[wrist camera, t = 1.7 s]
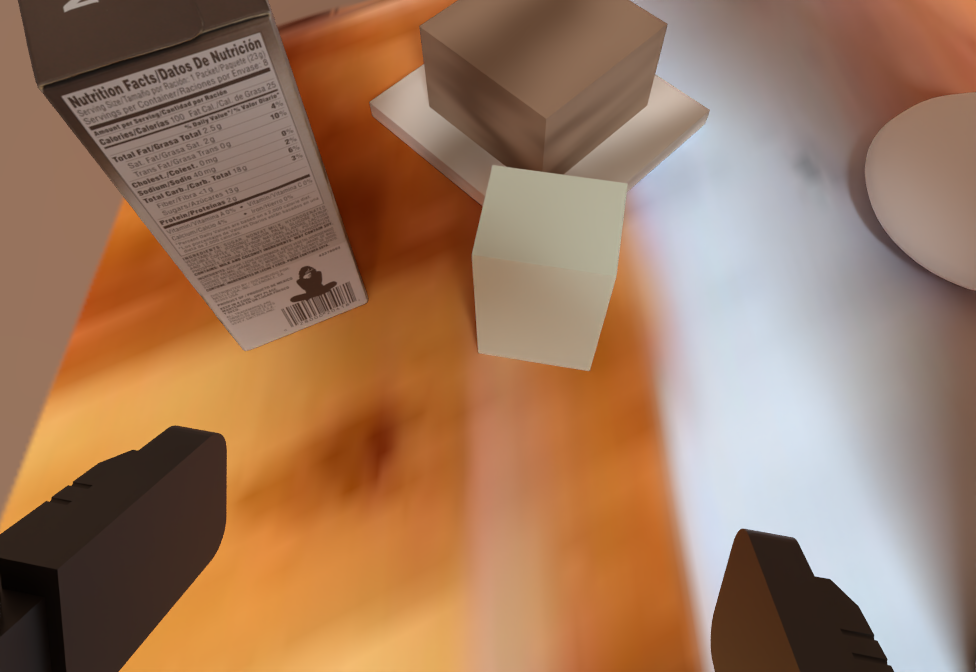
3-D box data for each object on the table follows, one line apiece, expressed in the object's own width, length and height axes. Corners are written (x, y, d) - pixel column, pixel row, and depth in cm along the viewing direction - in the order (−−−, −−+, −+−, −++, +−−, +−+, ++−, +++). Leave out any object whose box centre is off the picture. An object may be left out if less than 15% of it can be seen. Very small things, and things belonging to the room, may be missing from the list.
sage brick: (600, 293, 33) (627, 183, 26) (589, 371, 31) (616, 276, 24) (494, 277, 33) (492, 164, 26) (478, 353, 32) (471, 254, 24)
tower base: (704, 124, 37) (739, 28, 32) (548, 260, 34) (557, 178, 28) (527, 6, 42) (531, -96, 36) (372, 116, 38) (351, 21, 33)
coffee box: (193, 207, 35) (-18, -121, 21) (314, 164, 36) (193, -175, 22) (243, 358, 32) (27, 83, 17) (377, 305, 33) (279, 5, 18)
